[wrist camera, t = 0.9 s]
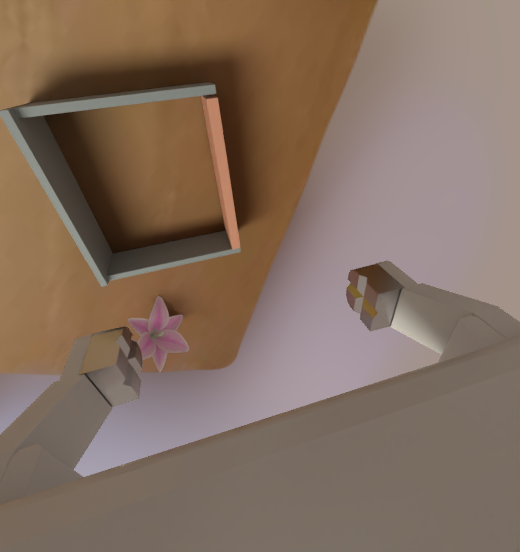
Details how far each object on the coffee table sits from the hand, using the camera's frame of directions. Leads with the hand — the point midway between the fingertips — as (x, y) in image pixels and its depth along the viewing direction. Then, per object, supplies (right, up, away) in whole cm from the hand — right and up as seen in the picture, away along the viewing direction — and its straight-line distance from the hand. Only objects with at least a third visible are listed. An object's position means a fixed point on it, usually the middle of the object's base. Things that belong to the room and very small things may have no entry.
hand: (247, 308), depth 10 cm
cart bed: (-14, +14, +27) cm, 34 cm away
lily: (-19, -7, +42) cm, 47 cm away
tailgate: (-5, +16, +28) cm, 33 cm away
